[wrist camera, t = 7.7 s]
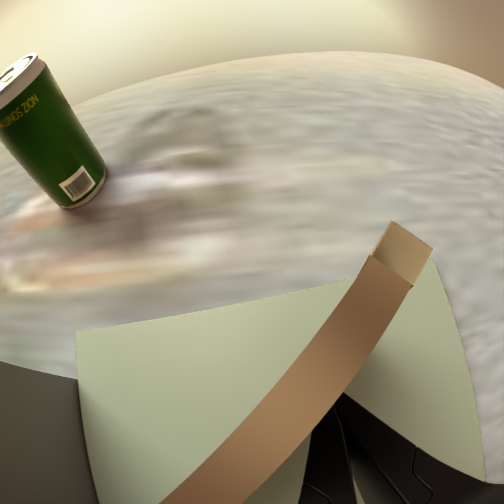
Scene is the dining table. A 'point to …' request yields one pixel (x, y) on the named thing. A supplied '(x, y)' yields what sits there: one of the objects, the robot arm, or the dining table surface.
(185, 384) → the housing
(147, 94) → the dining table surface
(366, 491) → the robot arm
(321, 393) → the brown wooden flat panel
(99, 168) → the beer can
